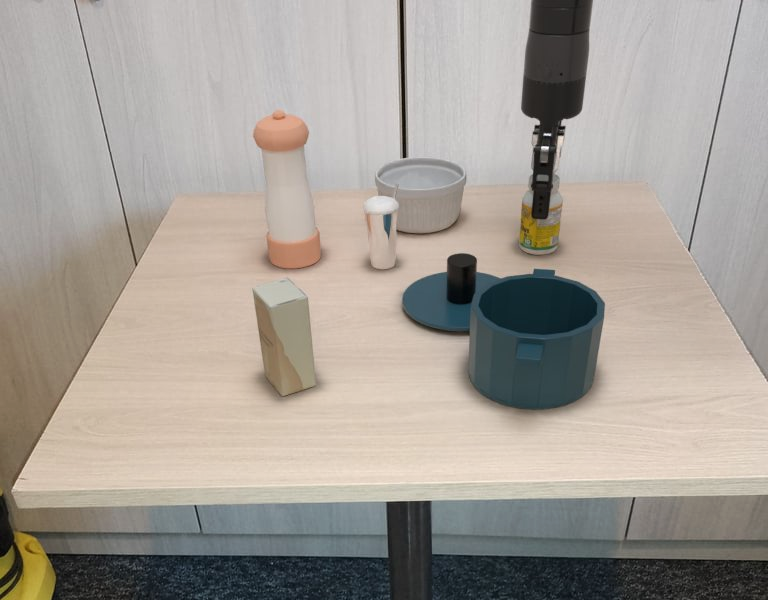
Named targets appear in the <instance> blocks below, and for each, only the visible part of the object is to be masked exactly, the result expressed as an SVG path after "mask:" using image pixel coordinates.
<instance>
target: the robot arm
mask: <svg viewBox="0 0 768 600" xmlns="http://www.w3.org/2000/svg"><path fill="white" fill-rule="evenodd" d="M593 4H594V0H530V9H529V23H528V33H527V39H526V44H525V50H524V63H523V75H522V76H523V77H522V88H521V89H522V90H521V101H520V102H521V104H520V110H521V112H522V114H523V115H524V116H526V117H528V118H531V119H536V120H537V121H539V124H534V128H533V131H532V136H531V146H532V155H531V162H530V164H531V165H530V169H531V170H532V174H533V179H532V183H531V188H532V191H533V203H532V214H531V216H532V218H533V219H547V218H548V215H549V206H550V196H551V191H552V189H553V185H554V184H553V176H554V174H555V173H556V172H558V170H559V167H560V159H561V156H562V149H563V147H564V141H565V137H566V129H567V128H566V127H567V125H562V122H563V121H564V120H570V119H573V118H575V117H578V116H579V115H580V114H581V113H582V110H583V105H584V98H585V90H586V89H585V88H586V83H587V82H586V81H587V73H588V65H589V56H590V32H591V31H590V30H591V29H590V28H591V21H592V12H593ZM538 175H548V177H549V178H548V181H538Z"/></svg>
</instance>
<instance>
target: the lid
mask: <svg viewBox="0 0 768 600" xmlns="http://www.w3.org/2000/svg"><path fill="white" fill-rule="evenodd" d="M477 269H478V258H477V257H476V255H473V254H470V253H465V252H464V253H463V252H460V253H454V254H451V255H449V256H448V257H447V259H446V271H441V272H437V273H433V274H429V275H427V276H424V277H421V278H419V279H417V280H415V281H414V282H412V283H411V284H410V285H409V286H408V287H407V288H406V289H405V291H404V292H403V293H402V300H401V301H402V302H401V303H402V304H401V305H402V308H403V310H404V312H405V313H406V314H407V316H408V317H410V318H411V319H412V320H414V321H416V322H418V323H419V324H421V325H423V326H426V327H429V328H433V329H438V330H442V331H450V332H470V313H471V304H472V300H473V297H474V294H475V293H476V292H477V291H478V290H479V289H481V288H482V287H483V286H484V285H486V284H487V283H490V282H493V281H495V280H498V279H501V278H502V277H501V278H500V277H498V276H496V275H493V274H490V273H485V272H480V271H477Z"/></svg>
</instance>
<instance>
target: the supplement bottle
mask: <svg viewBox="0 0 768 600" xmlns="http://www.w3.org/2000/svg"><path fill="white" fill-rule="evenodd" d="M548 178H549V177H548V175H538V181H548ZM532 179H533V173H532V174H531V175H529V177H528V184H527V187H528V190H527V191H526V192H525V193H524V194H523V196H522V201H521V209H520V211H521V213H520V224H519V227H520V228H519V238H518V239H519V241H518V246H519V248H520V249H521V250H522V251H523V252H524V253H527V254H529V255H535V256H544V255H549V254H551V253H554V252H555V251H556V250H557V249H558V246H559V239H560V229H561V221H562V212H563V202H564V199H563V195H562V194H561V193H560V192H559V191H558V190H559V189H560V182H561V181H560V180H561V177H560V176H559V175H558V174H554V176H553V184H554V185H553V189H552V191H551V196H550V206H549V215H548V218H547V219H533V218H532V216H531V214H532V203H533V191H532V188H531V183H532Z"/></svg>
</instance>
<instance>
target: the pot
mask: <svg viewBox="0 0 768 600" xmlns="http://www.w3.org/2000/svg"><path fill="white" fill-rule="evenodd" d="M605 311H606V303H605V301H604V300H603V298H602V297H601V296H600V295H599V293H598V292H597V291H596V290H595V289H593V288H591V287H589V286H587V285H585V284H584V283H582V282H580V281H577V280H574V279H570V278H567V277H563V276H560V275H556V269H546V268H533V270H532V273H525V274H515V275H507V276H504V277H501V279H498V280H495V281H493V282H490V283H487V284H486V285H484V286H483V287H482V288H481V289H479V290H478V291H477V292H476V293H475V294H474V297H473V300H472V304H471V313H470V331H469V337H468V339H469V340H468V341H469V343H468V366H467V367H468V368H467V371H468V375H469V380H470V382H471V384H472V385H473V387H474V388H475V390H477V391H478V392H479V393H480V394H481V395H483V396H484V397H486V398H487V399H489V400H490V401H493V402H496V403H498V404H501V405H504V406H507V407H512V408H517V409H523V410H548V409H549V410H551V409H555V408H560V407H564V406H567V405H570V404H572V403H574V402H577V401H579V400H580V399H581V398H583V397H584V396H585V395H586V394H587V393H589V390H590V389H591V388H592V385H593V383H594V382H595V381H594V380H595V375H596V370H597V369H596V368H597V363H598V357H599V351H600V344H601V338H602V334H603V333H602V332H603V326H604V321H605V313H606V312H605Z"/></svg>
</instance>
